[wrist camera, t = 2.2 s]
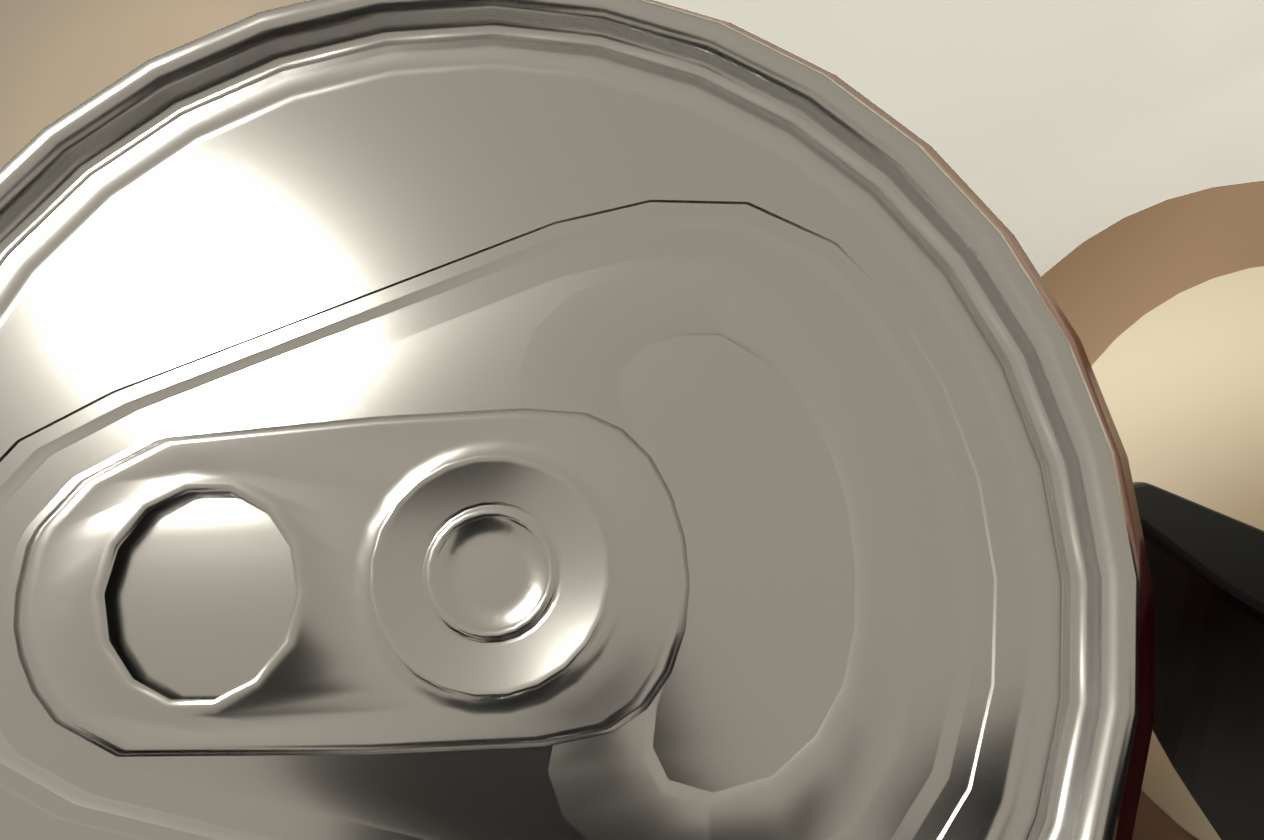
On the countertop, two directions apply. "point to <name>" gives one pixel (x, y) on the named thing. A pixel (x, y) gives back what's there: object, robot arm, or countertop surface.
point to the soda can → (544, 454)
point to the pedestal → (1179, 380)
